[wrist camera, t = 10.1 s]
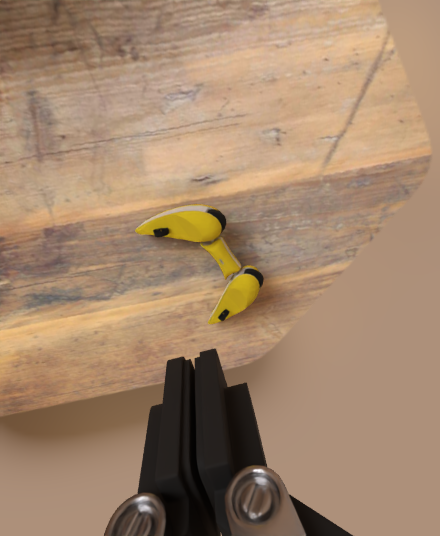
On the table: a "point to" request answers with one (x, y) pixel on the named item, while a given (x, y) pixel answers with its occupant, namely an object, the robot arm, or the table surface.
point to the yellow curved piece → (207, 231)
